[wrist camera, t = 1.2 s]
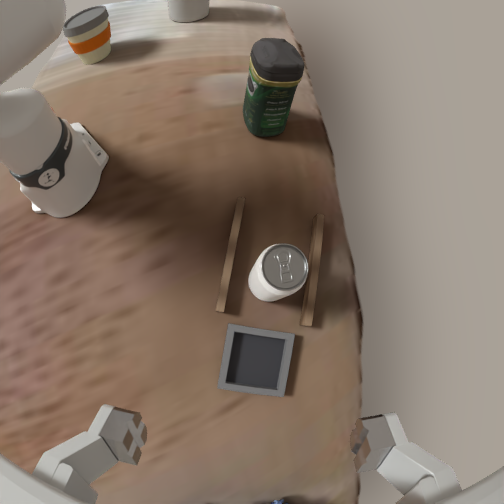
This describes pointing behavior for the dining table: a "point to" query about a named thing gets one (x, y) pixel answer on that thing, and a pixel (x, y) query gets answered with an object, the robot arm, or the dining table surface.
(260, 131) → the coffee jar
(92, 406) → the dining table surface
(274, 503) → the decorative sculpture
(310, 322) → the rail channel
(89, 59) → the reusable coffee cup
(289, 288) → the can
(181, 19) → the cylinder vase
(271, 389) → the tray
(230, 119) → the dining table surface
